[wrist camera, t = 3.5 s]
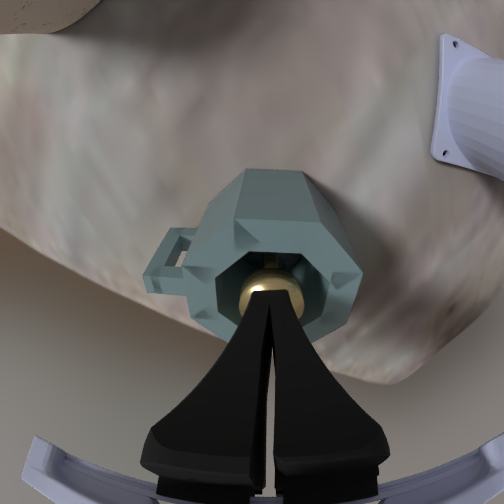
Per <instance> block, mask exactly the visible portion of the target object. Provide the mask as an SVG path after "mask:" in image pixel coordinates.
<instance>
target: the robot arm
mask: <svg viewBox="0 0 504 504" xmlns="http://www.w3.org/2000/svg"><path fill="white" fill-rule="evenodd" d="M453 42H454V43H455V45H456V48H455V47H454V46H453ZM445 150H446V154H445V156H443V152H444V151H445ZM430 153H431V156H432V157H433V158H435V159H436V160H439V161H443V162H447V163H450V164H454V165H458V166H461V167H465V168H468V169H472V170H475V171H478V172H481V173H485V174H488V175H491V176H494V177H497V178H499V179H500V180H502V181H503V182H504V59H497V58H491V57H490V56H488V55H486V54H485V53H483V52H481V51H480V50H478V49H476V48H474V47H473V46H471V45H469V44H467V43H465V42H463V41H461V40H459V39H457V38H455V37H453V36H451V35H449V34H443V35H441V36H440V67H439V85H438V98H437V108H436V116H435V124H434V131H433V137H432V143H431V149H430ZM272 348H273V358H274V367H275V419H274V420H275V421H274V447H273V448H274V449H273V456H274V465H275V489H276V497H255V494H262V489H263V488H265V486H266V418H267V417H266V416H267V393H268V385H269V375H270V366H271V356H272ZM389 456H390V449H389V445H388V442H387V439H386V436H385V434H384V432H383V429H382V427H381V426H380V425H379V424H378V423H377V422H376V421H375V420H374V419H372V418H371V417H370V416H369V415H368V414H367V413H366V412H365V411H364V410H363V409H362V408H361V407H360V406H359V405H358V404H357V403H356V402H355V401H354V400H353V399H352V398H351V397H350V396H349V395H348V393H347V392H346V391H345V390H344V389H343V387H342V386H341V385H340V384H339V383H338V382H337V380H336V379H335V378H334V377H333V375H332V374H331V373H330V371H329V370H328V369H327V367H326V366H325V364H324V363H323V362H322V360H321V359H320V357H319V356H318V354H317V353H316V351H315V349H314V348H313V346H312V344H311V343H310V341H309V339H308V337H307V336H306V334H305V332H304V330H303V328H302V326H301V324H300V322H299V320H298V318H297V315H296V313H295V310H294V308H293V305H292V303H291V299H290V296H289V291H287V290H286V289H280V290H256V291H253V292H252V293H251V297H250V300H249V302H248V305H247V308H246V310H245V312H244V314H243V317H242V319H241V321H240V323H239V325H238V327H237V329H236V331H235V332H234V334H233V336H232V338H231V339H230V341H229V343H228V344H227V346H226V348H225V349H224V351H223V352H222V354H221V356H220V357H219V358H218V360H217V361H216V363H215V364H214V365H213V367H212V368H211V369H210V371H209V372H208V373H207V374H206V376H205V377H204V378H203V379H202V380H201V382H200V383H199V384H198V385H197V386H196V387H195V388H194V389H193V390H192V392H191V393H190V394H189V395H188V396H187V397H186V398H185V399H184V400H182V401H181V402H180V403H179V405H177V406H176V407H175V408H174V409H173V410H172V411H171V412H170V413H168V414H167V415H166V416H165V417H163V418H162V419H161V420H160V421H159V422H157V423H156V424H155V425H154V426H152V427H151V429H150V431H149V433H148V436H147V438H146V441H145V444H144V447H143V451H142V456H141V460H140V464H141V465H142V467H144V468H145V469H147V470H149V471H151V472H153V473H155V474H156V475H158V476H159V479H158V484H155V483H151V482H147V481H143V480H139V479H136V478H132V477H129V476H126V475H122V474H119V473H116V472H113V471H110V470H107V469H104V468H102V467H99V466H97V465H94V464H91V463H89V462H86V461H84V460H81V459H79V458H77V457H74V456H72V455H70V454H68V453H66V452H65V451H64V450H62V449H60V448H59V447H57V446H55V445H53V444H52V443H50V442H48V441H46V440H44V439H42V438H40V437H38V436H35V437H34V439H33V442H32V445H31V448H30V451H29V454H28V457H27V460H26V463H25V467H24V470H23V473H22V477H21V478H22V480H23V481H25V482H26V483H28V484H29V485H30V486H32V487H33V488H35V489H36V490H37V491H39V492H40V493H42V494H43V495H45V496H46V497H47V498H49V499H50V500H52V501H53V502H55V503H56V504H159V502H158V501H157V500H156V499H158V500H162V501H166V502H171V503H175V504H364V503H369V502H373V501H378V500H381V501H380V502H379V503H378V504H485V503H486V502H488V501H489V500H490V499H492V498H493V497H495V496H496V495H498V494H499V493H500V492H502V491H503V490H504V432H503V433H502V434H500V435H498V436H496V437H495V438H493V439H491V440H490V441H488V442H486V443H485V444H483V445H482V446H480V447H479V448H478V449H476V450H474V451H472V452H470V453H468V454H466V455H464V456H461V457H459V458H457V459H455V460H452V461H450V462H447V463H445V464H442V465H440V466H437V467H435V468H432V469H429V470H427V471H424V472H421V473H418V474H415V475H412V476H409V477H405V478H401V479H398V480H394V481H391V482H387V483H383V484H379V485H378V484H377V476H378V475H379V468H378V465H379V464H381V463H382V462H384V461H385V460H386V459H387V458H388V457H389ZM382 499H383V500H382Z"/></svg>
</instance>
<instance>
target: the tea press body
mask: <svg viewBox="0 0 504 504" xmlns="http://www.w3.org/2000/svg"><path fill="white" fill-rule="evenodd" d="M182 251H187V254H186V256H185V258H184V261H183V263H182V265H181V266H182V267H175V265H176V263H177V260H178V258H179V256H180V254H181V252H182ZM249 251H257V252H280V253H301V254H302V255H301V257H300V258H299V259H298V260H297V261H296V262H295V263H294V264H293V265H291V266H290V267H288V268H286V269H284V270H287V271H289V272H291V273H292V274H294V275H295V276H296V277H297V278H298V279H299V281H300V283H301V286H302V292H303V300H304V311H303V314H302V316H301V317H300V318H299V319H298V320H299V322H300V324H301V326H302V328H303V330H304V332H305V334H306V336H307V337H308V339H309V341H310V343H312V342H314V341H316V340H318V339H320V338H322V337H323V336H325V335H327V334H329V333H331V332H333V331H334V330H336V329H338V328H340V327H341V326H343V325H345V324H347V321H348V318H349V315H350V312H351V309H352V306H353V303H354V300H355V297H356V294H357V291H358V288H359V285H360V282H361V279H362V275H363V271H362V269H361V266H360V264H359V262H358V259H357V257H356V255H355V252H354V250H353V248H352V246H351V243H350V241H349V239H348V237H347V234H346V232H345V230H344V228H343V226H342V224H341V222H340V219H339V217H338V215H337V213H336V211H335V209H334V208H333V207H332V206H331V204H330V203H329V202H328V201H327V200H326V198H325V197H324V196H323V195H322V194H321V193H320V191H319V190H318V189H317V188H316V187H315V186H314V185H313V183H312V182H311V181H310V180H309V179H308V178H307V177H306V175H305V174H304V173H303V172H302V171H289V170H269V169H245V170H244V171H243V172H242V173H241V174H240V175H239V176H238V177H237V178H235V179H234V180H233V181H232V182H231V183H230V184H229V185H228V186H227V187H226V188H225V189H224V190H223V191H222V192H220V193H219V194H218V195H217V196H216V197H215V198H214V199H213V200H212V201H211V202H210V203H209V205H208V207H207V209H206V211H205V213H204V215H203V218H202V220H201V222H200V224H199V226H198V228H170V229H169V231H168V232H167V234H166V236H165V237H164V239H163V241H162V242H161V244H160V246H159V247H158V249H157V251H156V253H155V254H154V256H153V258H152V259H151V261H150V263H149V265H148V267H147V268H146V270H145V272H144V274H143V280H144V283H145V287H146V290H147V293H158V294H169V295H181V296H187V301H188V306H189V311H190V317H191V318H192V319H193V320H195V321H196V322H198V323H199V324H201V325H202V326H203V327H205V328H206V329H208V330H209V331H211V332H212V333H214V334H215V335H217V336H218V337H220V338H222V339H223V340H225V341H226V342H228V343H229V341H230V339H231V338H232V336H233V334H234V332H235V331H236V329H237V327H238V325H239V323H240V321H241V319H242V316H241V314H240V311H239V301H240V293H241V287H242V284H243V281H244V280H245V279H246V277H247V276H249V275H250V274H251V273H253V272H255V271H257V270H259V269H257V268H254V267H253V266H251V265H249V264H248V263H247V262H246V261H245V260H244V259H243V258H242V256H244V255H245V254H246V253H247V252H249ZM272 350H273V348H272Z"/></svg>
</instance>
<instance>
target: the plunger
mask: <svg viewBox="0 0 504 504" xmlns="http://www.w3.org/2000/svg"><path fill="white" fill-rule="evenodd" d="M301 255H302V254H301V253H280V252H257V251H249V252H247V253H246V254H245V255H244V256H242V258H243V259H244V260H245V261H246V262H247V263H248V264H249V265H251V266H253V267H254V268H257V269H259V270H257V271H255V272H253V273H251V274H250V275H249V276H247V277H246V279H245V280H244V281H243V284H242V287H241V293H240V301H239V311H240V314H241V316H242V317H243V314H244V312H245V310H246V308H247V305H248V302H249V300H250V297H251V293H252V292H253V291H256V290H280V289H286V290H287V291H289V296H290V299H291V303H292V305H293V308H294V310H295V313H296V315H297V318H298V319H299V318H300V317H301V316H302V314H303V311H304V300H303V292H302V286H301V283H300V281H299V279H298V278H297V277H296V276H295V275H294V274H292V273H291V272H289V271H287V270H284V269H286V268H288V267H290V266H291V265H293V264H294V263H295V262H296V261H297V260H298V259H299V258H300V257H301Z"/></svg>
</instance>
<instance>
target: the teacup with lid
mask: <svg viewBox="0 0 504 504" xmlns="http://www.w3.org/2000/svg"><path fill="white" fill-rule="evenodd" d="M100 1H101V0H0V34H24V33H34V34H46V33H53V32H56V31H59V30H61V29H64V28H66V27H68V26H70V25H71V24H73V23H75V22H76V21H77V20H79V19H80V18H82V17H83V16H84V15H85V14H87V13H88V12H89V11H90V10H91V9H92V8H93V7H95V6H96V5H97V4H98V3H99V2H100Z"/></svg>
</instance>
